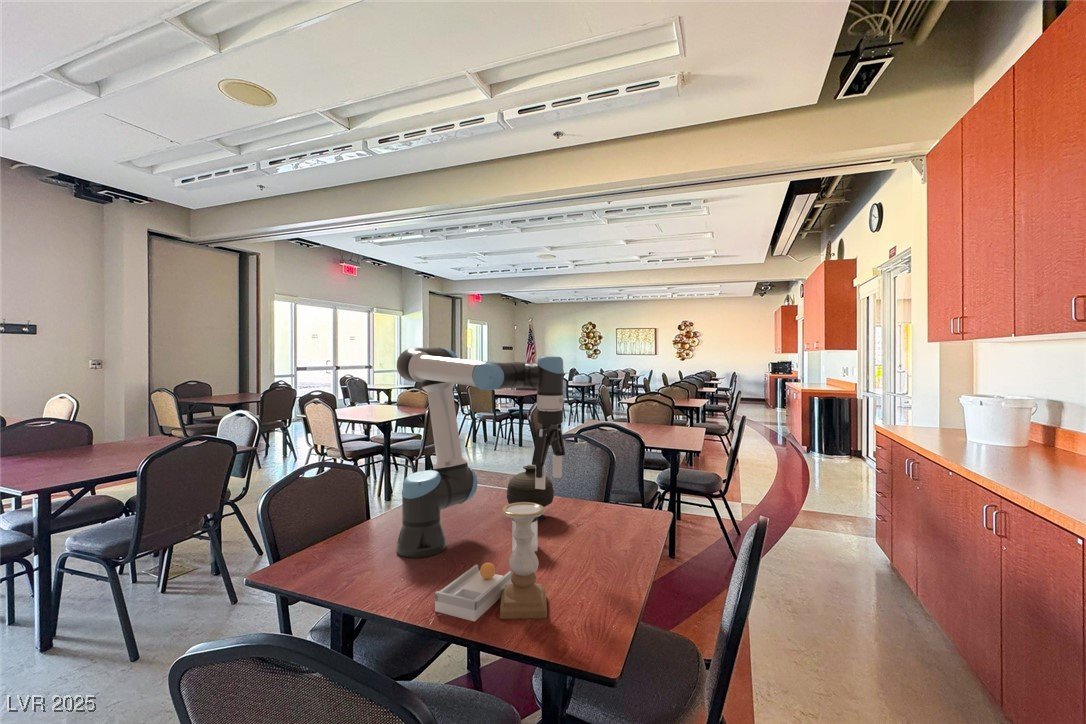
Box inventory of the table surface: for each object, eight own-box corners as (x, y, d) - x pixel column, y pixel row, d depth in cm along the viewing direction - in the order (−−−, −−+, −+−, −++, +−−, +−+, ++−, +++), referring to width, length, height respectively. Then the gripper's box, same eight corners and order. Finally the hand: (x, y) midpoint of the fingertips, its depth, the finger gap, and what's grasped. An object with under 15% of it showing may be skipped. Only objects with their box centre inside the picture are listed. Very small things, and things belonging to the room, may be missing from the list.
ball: (477, 580, 123) (477, 564, 123) (485, 573, 127) (485, 558, 127) (490, 583, 121) (490, 567, 121) (498, 576, 125) (498, 561, 125)
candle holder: (545, 595, 120) (545, 501, 120) (547, 618, 109) (547, 515, 109) (502, 595, 120) (502, 501, 120) (499, 619, 109) (499, 515, 109)
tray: (435, 611, 112) (435, 592, 112) (475, 579, 129) (475, 562, 129) (474, 621, 108) (474, 601, 108) (511, 587, 124) (511, 569, 124)
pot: (519, 505, 191) (522, 457, 190) (559, 516, 183) (563, 465, 182) (495, 520, 175) (499, 467, 174) (538, 532, 167) (542, 477, 166)
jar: (519, 556, 144) (519, 517, 144) (506, 547, 150) (506, 510, 150) (543, 550, 149) (543, 511, 149) (530, 541, 155) (530, 505, 155)
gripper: (546, 415, 124) (545, 495, 124) (575, 406, 147) (574, 474, 148) (520, 413, 127) (519, 492, 127) (552, 404, 150) (552, 471, 150)
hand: (549, 482), depth 137 cm, fingers open, 13 cm apart
